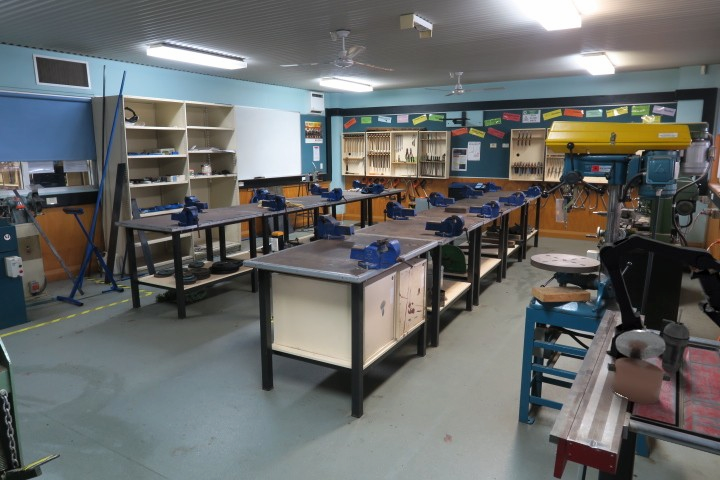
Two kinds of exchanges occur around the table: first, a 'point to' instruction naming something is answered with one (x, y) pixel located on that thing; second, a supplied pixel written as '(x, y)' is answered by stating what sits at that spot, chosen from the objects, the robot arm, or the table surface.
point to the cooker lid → (640, 344)
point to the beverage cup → (674, 344)
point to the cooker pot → (637, 380)
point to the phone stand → (664, 324)
